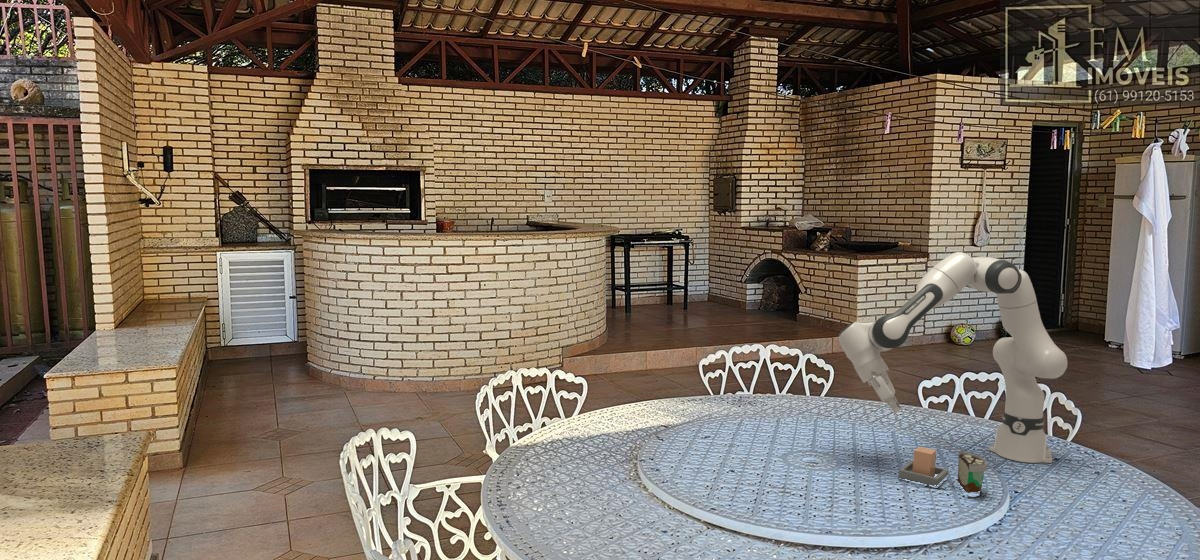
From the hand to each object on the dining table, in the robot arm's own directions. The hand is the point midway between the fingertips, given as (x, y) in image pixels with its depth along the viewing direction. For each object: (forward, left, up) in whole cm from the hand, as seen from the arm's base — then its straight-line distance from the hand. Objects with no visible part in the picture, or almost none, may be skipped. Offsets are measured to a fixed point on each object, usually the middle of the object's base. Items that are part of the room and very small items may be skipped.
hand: (898, 410), depth 237 cm
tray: (+3, +10, -18) cm, 21 cm away
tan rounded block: (+3, +10, -17) cm, 20 cm away
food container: (+4, +24, -19) cm, 31 cm away
